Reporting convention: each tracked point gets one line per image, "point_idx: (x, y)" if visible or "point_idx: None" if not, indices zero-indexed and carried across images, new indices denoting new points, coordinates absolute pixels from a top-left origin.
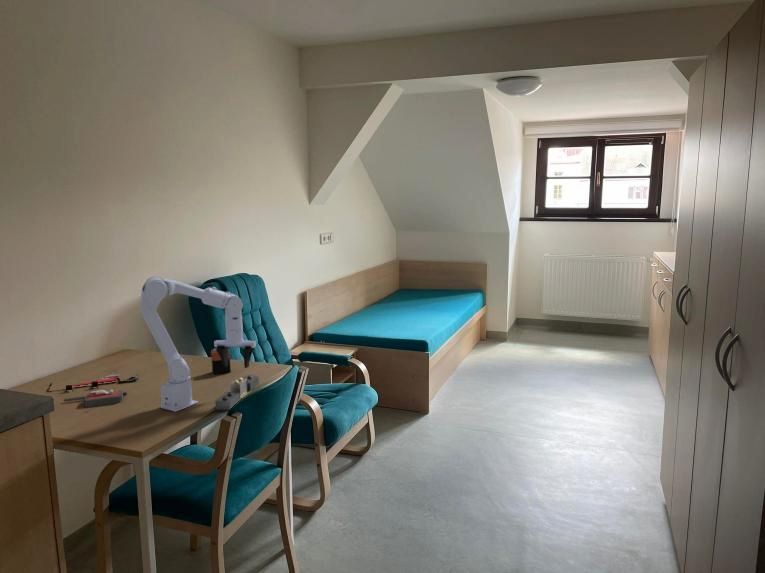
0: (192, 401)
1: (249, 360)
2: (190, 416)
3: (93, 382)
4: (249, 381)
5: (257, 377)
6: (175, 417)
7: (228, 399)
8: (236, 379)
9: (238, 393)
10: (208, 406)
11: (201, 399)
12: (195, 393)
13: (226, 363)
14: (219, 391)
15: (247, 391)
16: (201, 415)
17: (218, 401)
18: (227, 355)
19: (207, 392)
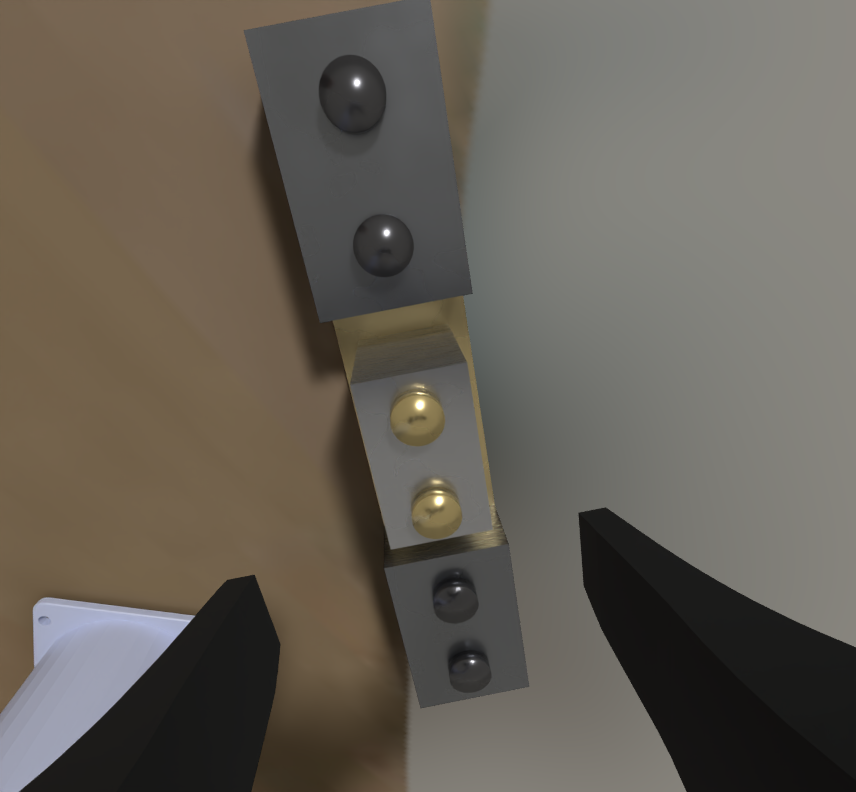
0: (176, 636)
1: (673, 562)
2: (339, 758)
3: None
4: (432, 242)
5: (434, 36)
6: (267, 788)
7: (501, 668)
8: (369, 421)
9: (509, 557)
10: (334, 632)
11: (182, 556)
12: (13, 471)
13: (256, 661)
14: (177, 368)
15: (443, 310)
16: (391, 733)
17: (443, 698)
18: (171, 726)
19: (93, 421)
